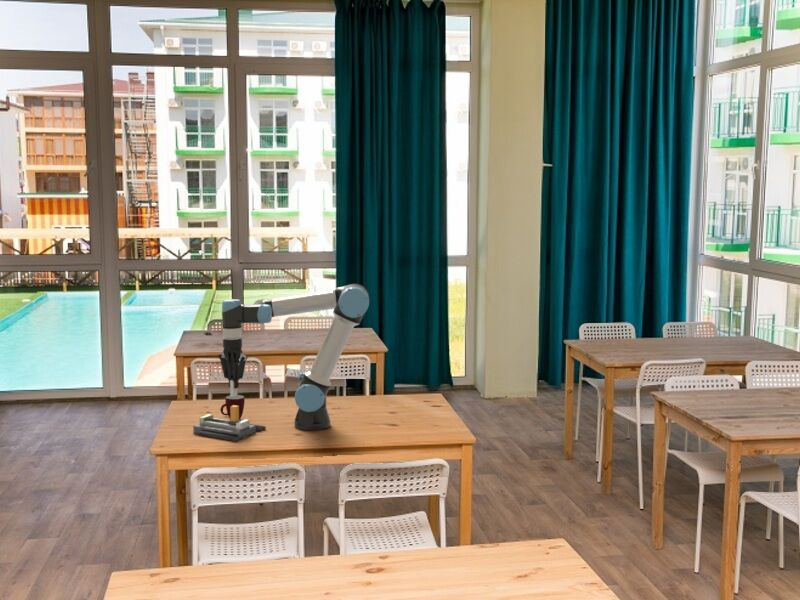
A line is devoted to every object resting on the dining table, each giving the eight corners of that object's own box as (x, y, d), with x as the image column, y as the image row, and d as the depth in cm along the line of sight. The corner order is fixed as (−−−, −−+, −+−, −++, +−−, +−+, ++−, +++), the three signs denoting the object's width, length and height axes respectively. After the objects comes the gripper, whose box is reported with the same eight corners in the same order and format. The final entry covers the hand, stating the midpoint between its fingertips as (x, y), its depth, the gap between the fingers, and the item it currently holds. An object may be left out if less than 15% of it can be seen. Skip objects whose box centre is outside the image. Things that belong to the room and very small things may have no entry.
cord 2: (266, 429, 363) (266, 425, 363) (264, 430, 362) (264, 426, 362) (216, 423, 372) (216, 419, 372) (214, 423, 371) (214, 420, 371)
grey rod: (262, 431, 361) (262, 426, 361) (260, 432, 359) (260, 427, 359) (215, 423, 371) (215, 419, 371) (212, 424, 369) (212, 420, 369)
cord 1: (239, 441, 346) (239, 436, 346) (236, 442, 345) (236, 437, 344) (199, 434, 355) (199, 429, 355) (196, 435, 354) (196, 430, 353)
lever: (241, 426, 355) (241, 405, 354) (236, 428, 352) (236, 407, 351) (233, 424, 357) (232, 404, 356) (228, 426, 354) (228, 406, 353)
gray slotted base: (255, 432, 358) (255, 418, 357) (238, 440, 347) (238, 425, 347) (211, 426, 367) (211, 412, 367) (193, 433, 357) (193, 418, 356)
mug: (226, 424, 371) (226, 401, 370) (217, 420, 377) (216, 397, 376) (248, 420, 378) (248, 397, 376) (238, 416, 384) (238, 394, 382)
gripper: (251, 337, 351) (252, 395, 354) (224, 335, 357) (226, 392, 360) (240, 340, 345) (241, 399, 347) (213, 338, 350) (215, 396, 353)
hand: (233, 395), depth 354 cm, fingers closed
